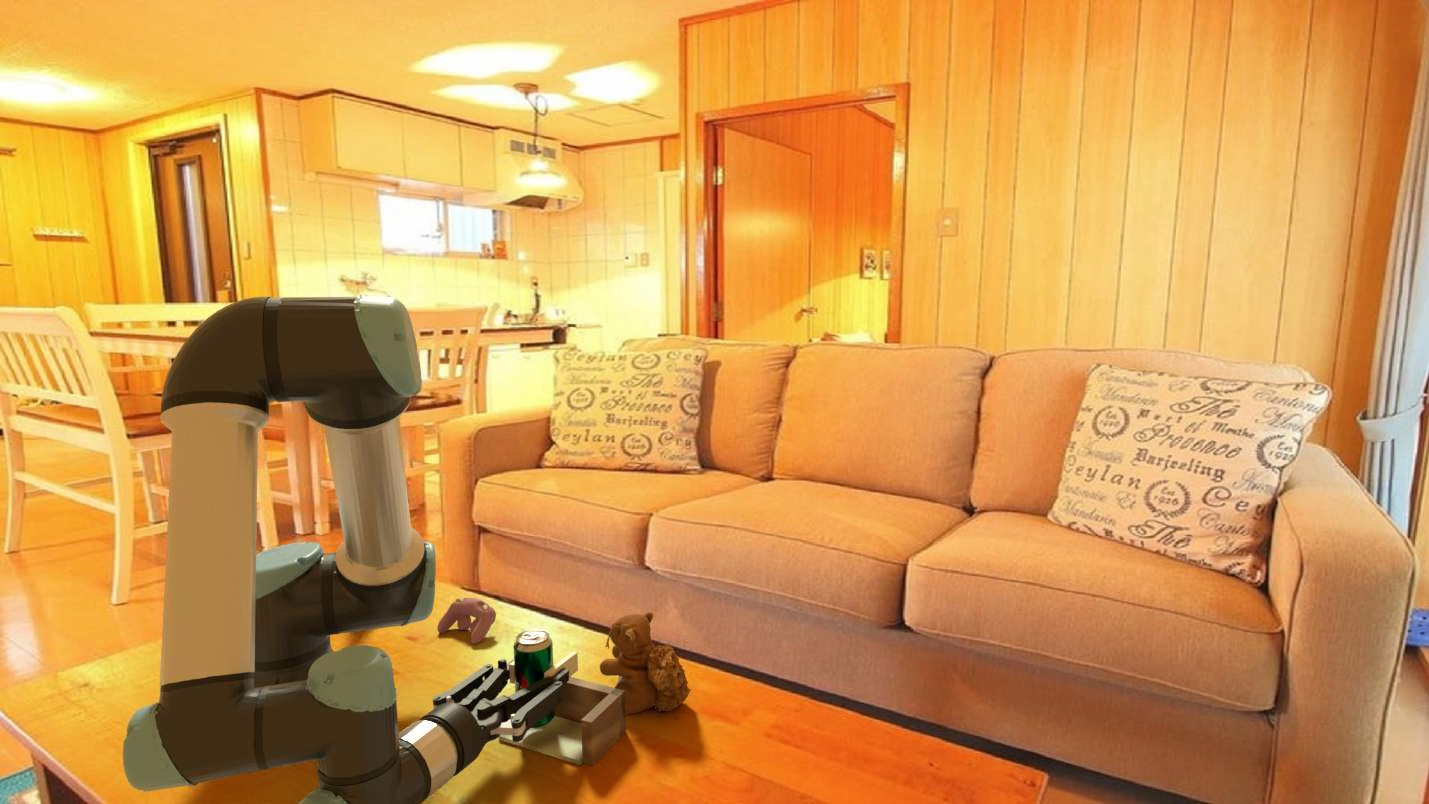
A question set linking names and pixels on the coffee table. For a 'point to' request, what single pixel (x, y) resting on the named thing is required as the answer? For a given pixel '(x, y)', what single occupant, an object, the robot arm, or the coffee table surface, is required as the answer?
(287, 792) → the coffee table surface
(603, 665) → the stuffed squirrel
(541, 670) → the soda can
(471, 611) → the video game controller
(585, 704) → the brown wooden angled piece
